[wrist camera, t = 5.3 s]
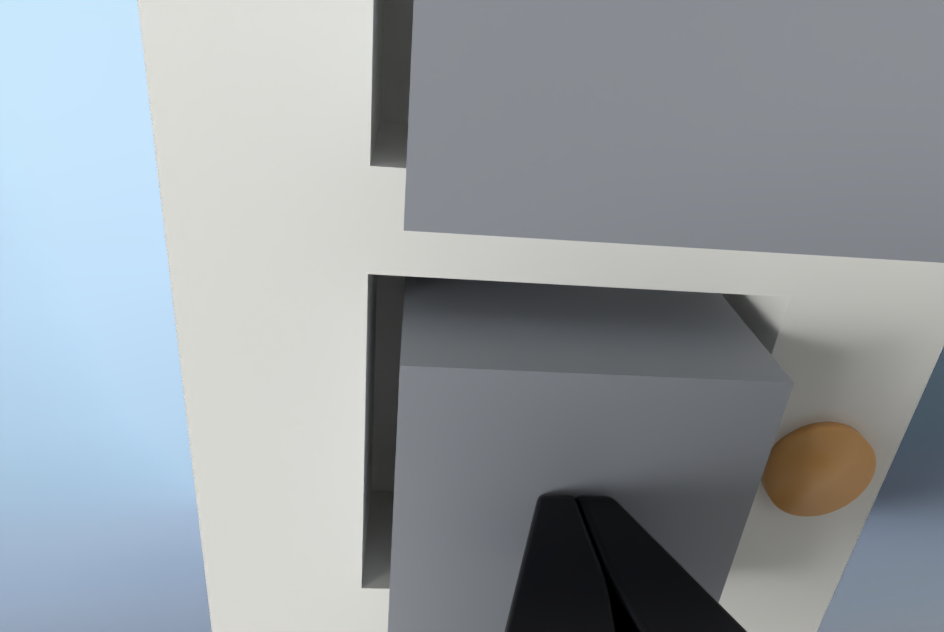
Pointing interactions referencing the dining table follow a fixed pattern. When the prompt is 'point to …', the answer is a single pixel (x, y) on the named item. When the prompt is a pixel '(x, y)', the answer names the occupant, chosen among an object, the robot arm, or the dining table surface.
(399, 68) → the keypad
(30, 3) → the dining table surface
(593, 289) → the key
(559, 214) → the key middle
